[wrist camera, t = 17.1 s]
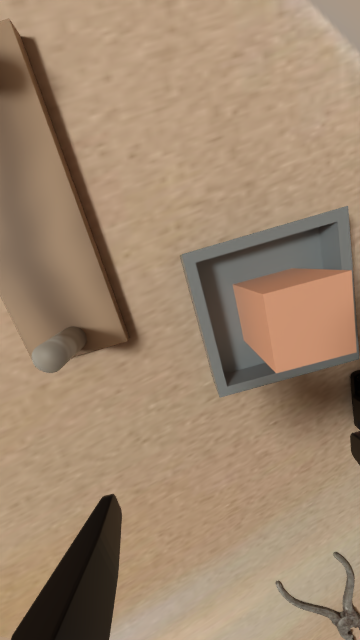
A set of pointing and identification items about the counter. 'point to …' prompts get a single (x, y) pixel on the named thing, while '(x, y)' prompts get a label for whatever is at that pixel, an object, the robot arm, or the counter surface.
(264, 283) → the block
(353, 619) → the pliers
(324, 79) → the counter surface
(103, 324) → the peg rack
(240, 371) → the tray
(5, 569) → the counter surface
